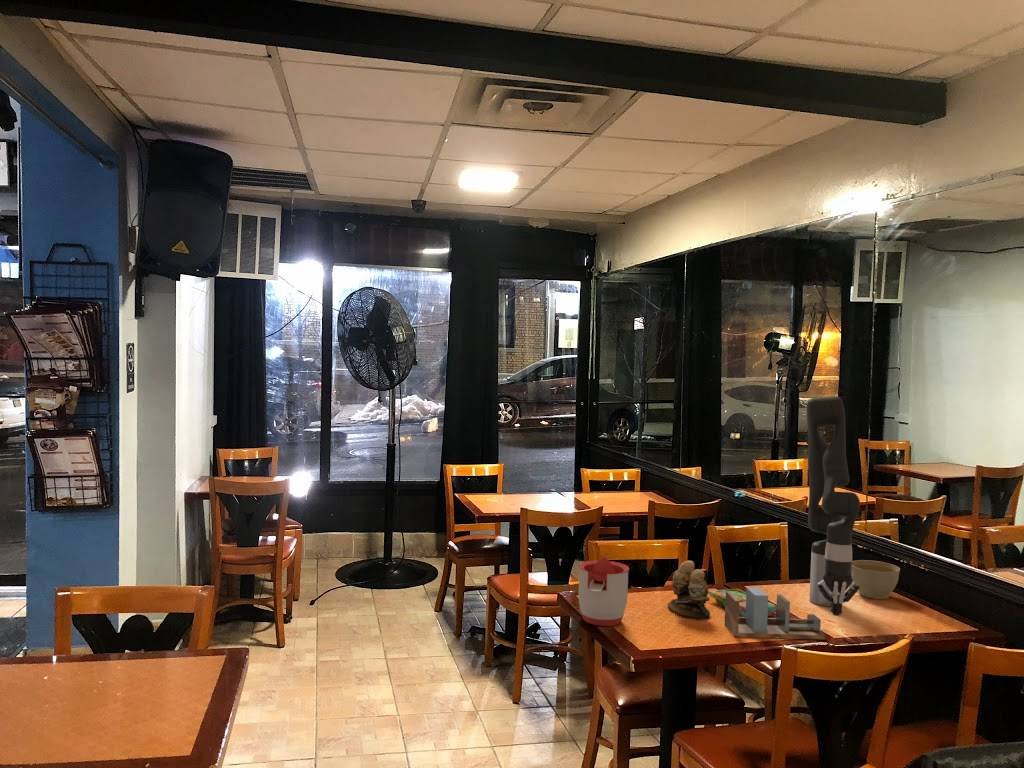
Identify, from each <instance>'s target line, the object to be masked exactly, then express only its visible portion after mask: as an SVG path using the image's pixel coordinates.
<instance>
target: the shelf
mask: <svg viewBox="0 0 1024 768" xmlns="http://www.w3.org/2000/svg"><path fill="white" fill-rule="evenodd" d="M789 624H807V618H789ZM724 626H725V628H726V627H727V628H728V629H727V628H726V629H727V630H728V631H729V632H730V633H732V634H733V635H734V636H745V637H744V638H761V637H779V638H778V639H794V638H798V639H799V640H800V639H801V640H803V639H804V640H826V635H825V634H824V633H823V632H822V631H821V630H820V631H813V630H793V629H789V632H784V631H783V630H782V629H781V628H780V627H779V626H778V625H777V624H776V617H767V632H753V631H752V630H751V629H750V628H749V627H748V625H747V624H746V623H745V617H742V616H740V615H739V600H738V599H737V598H736V597H735V596H734V595H733V594H732V593H731V592H730V591H726V599H725V608H724ZM732 634H731V635H732ZM733 635H732V636H733ZM734 636H733V637H734Z"/></svg>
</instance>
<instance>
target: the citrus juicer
mask: <svg viewBox="0 0 1024 768" xmlns="http://www.w3.org/2000/svg"><path fill="white" fill-rule="evenodd" d="M578 569H579V570H578V571H579V574H578V603H579V605H578V606H579V609H580V614H581V616H582V620H583V621H584V622H586V624H590V625H595V626H600V627H601V626H603V627H608V628H609V627H613V626H616V625H619V624H620V623H621V622H622V620H623V617H624V614H625V612H626V607H627V603H628V594H629V593H628V588H629V572H630V568H629V566H628V565H626V564H623V563H622V562H617V561H611V560H609V559H608V558H607V557H606V556H602V557H601V558H599V559H598V560H594V559H593V560H586V561H582V562H581V563H579V564H578Z"/></svg>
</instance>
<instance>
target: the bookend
mask: <svg viewBox="0 0 1024 768" xmlns="http://www.w3.org/2000/svg"><path fill="white" fill-rule="evenodd" d="M775 606H776V611H775V612H776V613H775V618H776V624H777V625H778V626H779V627H780V628H781V629H782V630H783V631H784V632H789V629H793V630H813V631H821V622H822V621H821V618H819V617H818V616H816V615H815V614H814V613H813V614H811V613H810V614H809V613H808V614H807V615H806V619H807V624H789V619H790V614H791V613H790V612H791V611H790V610H791V609H790V608H791V601H790V600H789V599H787V598H786V597H785V596H784V595H782V594H780V593H779V594H777V593H776V605H775Z"/></svg>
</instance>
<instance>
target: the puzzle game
mask: <svg viewBox="0 0 1024 768" xmlns="http://www.w3.org/2000/svg"><path fill="white" fill-rule="evenodd" d="M726 591H730V592H731V593H732V594H733V595H734V596H735V597H736V598H737V599H738V600H739V617H746V591H744V590H741V589H739V588H729V589H720V590H719V589H716V590H708V592H709V593H708V596H710V597H711V598H712V599H714V600H715V601H716V603H717V605H718V604H719V606H720V605H721V607H722V606H723V608H724V607H725V599H726ZM775 612H776V605H775V604H774V603H772V602H769V601H768V616H769V617H771V616H772V615H773V614H774V613H775Z"/></svg>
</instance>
